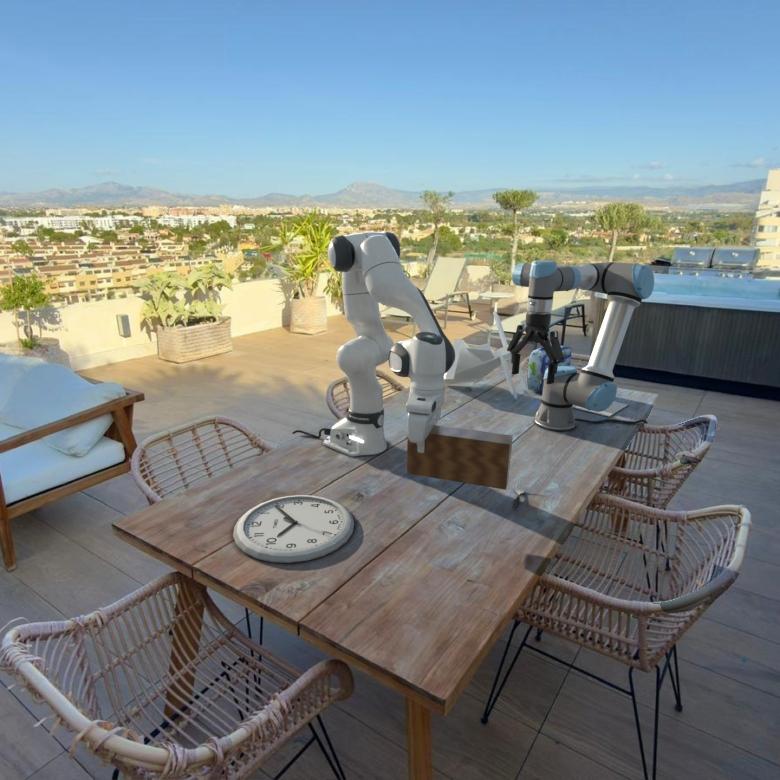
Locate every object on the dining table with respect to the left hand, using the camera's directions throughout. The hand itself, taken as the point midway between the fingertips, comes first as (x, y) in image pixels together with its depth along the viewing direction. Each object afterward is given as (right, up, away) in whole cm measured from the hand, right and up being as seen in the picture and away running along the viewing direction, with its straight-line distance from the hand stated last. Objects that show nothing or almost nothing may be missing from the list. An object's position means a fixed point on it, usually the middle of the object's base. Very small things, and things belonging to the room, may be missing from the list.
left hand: (424, 446), depth 138 cm
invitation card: (+82, +8, +88) cm, 121 cm away
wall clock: (-33, -20, -6) cm, 39 cm away
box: (+9, -8, 0) cm, 12 cm away
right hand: (+36, +19, +29) cm, 50 cm away
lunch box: (+66, +15, +112) cm, 131 cm away
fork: (+27, -16, +10) cm, 33 cm away
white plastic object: (+32, +14, +105) cm, 111 cm away
